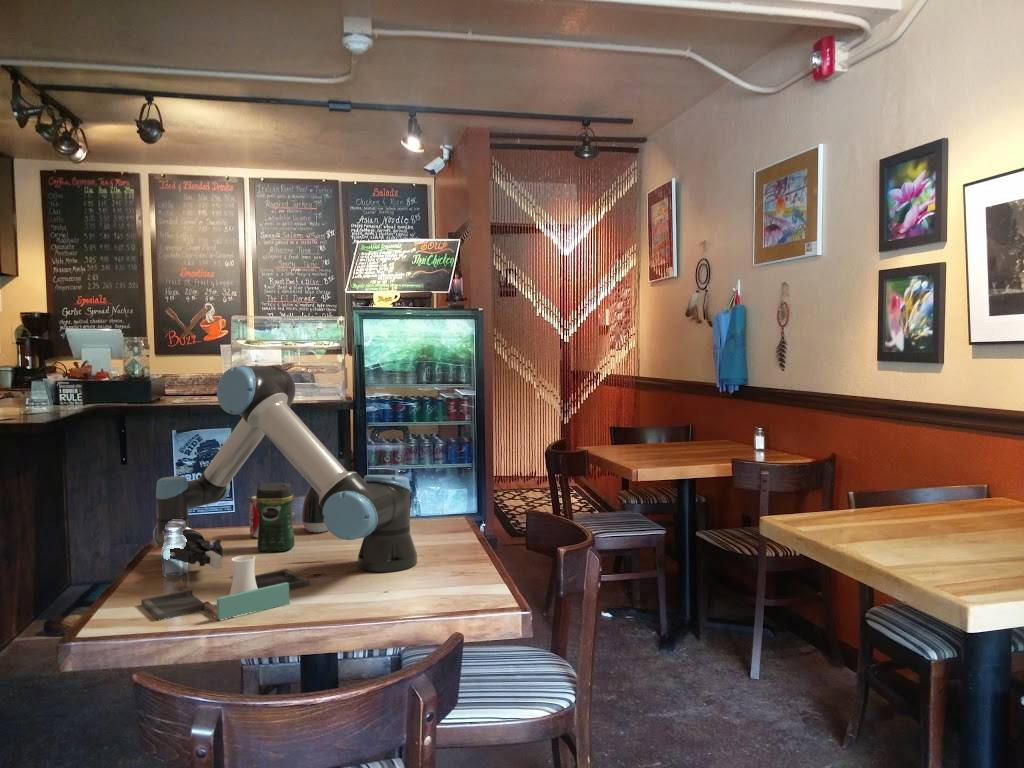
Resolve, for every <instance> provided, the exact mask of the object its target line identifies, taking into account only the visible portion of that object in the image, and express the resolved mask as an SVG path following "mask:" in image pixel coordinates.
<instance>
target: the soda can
mask: <svg viewBox="0 0 1024 768" xmlns="http://www.w3.org/2000/svg"><path fill="white" fill-rule="evenodd" d="M256 496H257V495H253V496H251V500H250V501H249V514H248V515H249V534H250V536H251V537H253V538H254V537H255V538H254V539H258V529H259V507H258V504H257V501H256Z"/></svg>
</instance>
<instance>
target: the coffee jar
mask: <svg viewBox="0 0 1024 768" xmlns="http://www.w3.org/2000/svg"><path fill="white" fill-rule="evenodd" d="M255 496H256V501H257V504H258V507H259V529H258V538H257V550H259V552H264V551H265V552H266V553H268V552H269V553H276V552H275V551H279V552H284V551H287V550H291V549H293V548H294V547H295V534H294V527H293V518H292V502H293V499H294V492H293V486H292V483H289V482H288V483H286V482H268V483H263V484H260V485H259V486H257V489H256V495H255ZM272 551H273V552H272Z"/></svg>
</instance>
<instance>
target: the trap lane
mask: <svg viewBox="0 0 1024 768" xmlns="http://www.w3.org/2000/svg"><path fill="white" fill-rule="evenodd" d="M255 580H256V584H257V588H258V589H259V588H263V587H268V586H272V585H276V584H281V583H285V582H287V583H289V589H291V590H295V588H296V589H300V588H304V587H308V586H310V580H309V579H308V578H306V577H304V576H301V575H300V574H299V573H295V572H294V571H291V570H289V569H288V568H283V569H279V570H278V569H277V570H275V571H270V572H265V573H261V574H255ZM299 587H300V588H299ZM175 589H176V591H175V592H172V593H167V594H161V595H158V596H156V595H155V596H152V597H148V598H143V599H141V606H142V607H143V608H144V609H145V610H146V611H147V612H148V613H149V614H150V615H152V616H153V617H154V616H155V617H156V618H157V619H158V620H159V619H163V620H165V619H164V618H167V619H169V618H168V617H172V618H174V617H173V616H176V617H179V616H178V615H180V616H183V615H182V614H184V615H187V614H186V613H189V614H192V613H191V612H193V613H196V612H195V611H197V612H200V611H199V610H202V611H205V610H206V611H208V612H209V613H210V614H212V615H213V616H215V617H216V618H217V606H215V605H214V604H213V603H211V602H209V601H204V602H203V601H201V599H199V598H198V597H196V596H195V595H193V589H191V588H190V587H188V586H187V585H186V584H184V583H183V582H176V583H175ZM178 590H179V591H178ZM203 609H205V610H203ZM206 611H205V612H206ZM208 612H207V613H208ZM209 613H208V614H209ZM210 614H209V615H210ZM212 615H211V616H212ZM213 616H212V617H213ZM155 617H154V618H155ZM156 618H155V619H156ZM216 618H215V619H216ZM157 619H156V620H157ZM158 620H157V621H158ZM159 621H160V620H159Z"/></svg>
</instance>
